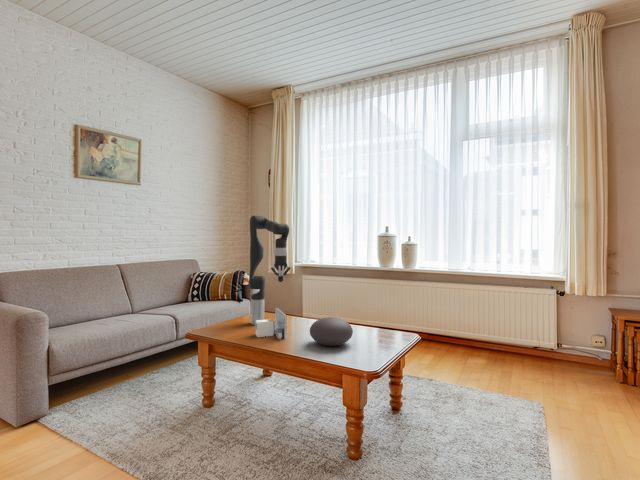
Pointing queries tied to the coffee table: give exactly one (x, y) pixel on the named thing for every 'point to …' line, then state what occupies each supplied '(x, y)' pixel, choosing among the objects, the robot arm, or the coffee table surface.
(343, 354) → the coffee table surface
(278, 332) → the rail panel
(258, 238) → the robot arm
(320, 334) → the flattened ellipsoid
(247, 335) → the coffee table surface
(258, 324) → the block
